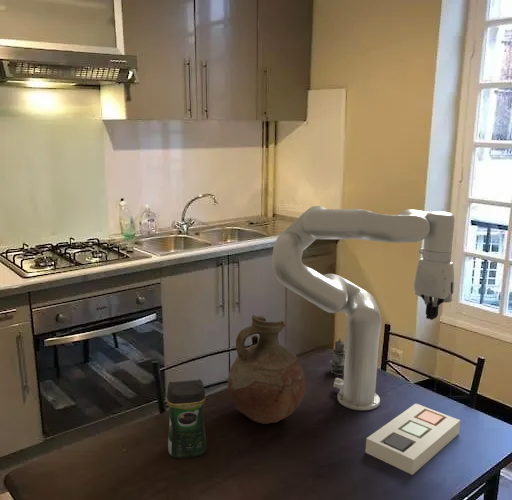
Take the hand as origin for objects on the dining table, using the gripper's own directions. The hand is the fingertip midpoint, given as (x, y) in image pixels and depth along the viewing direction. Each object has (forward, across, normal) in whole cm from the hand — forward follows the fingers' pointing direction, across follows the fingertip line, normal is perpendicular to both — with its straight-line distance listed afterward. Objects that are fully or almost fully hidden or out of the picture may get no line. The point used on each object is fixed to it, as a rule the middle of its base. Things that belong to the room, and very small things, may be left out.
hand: (431, 318), depth 158 cm
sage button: (+26, +8, -21) cm, 34 cm away
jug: (+27, -28, -39) cm, 55 cm away
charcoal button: (+26, +8, -30) cm, 40 cm away
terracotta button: (+26, +8, -13) cm, 30 cm away
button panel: (+27, +8, -21) cm, 35 cm away
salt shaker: (+27, -31, 0) cm, 41 cm away
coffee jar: (+27, -31, -65) cm, 77 cm away
